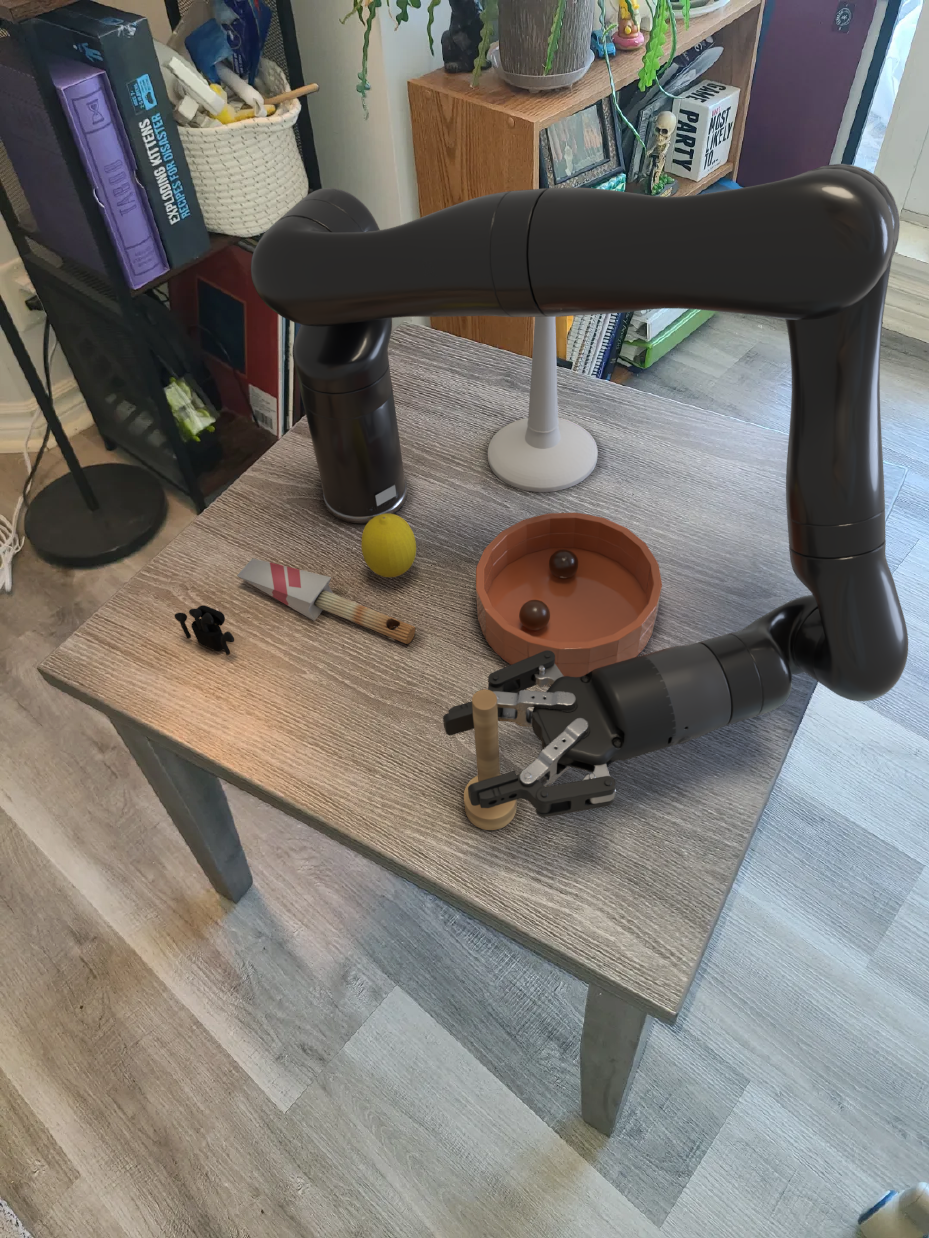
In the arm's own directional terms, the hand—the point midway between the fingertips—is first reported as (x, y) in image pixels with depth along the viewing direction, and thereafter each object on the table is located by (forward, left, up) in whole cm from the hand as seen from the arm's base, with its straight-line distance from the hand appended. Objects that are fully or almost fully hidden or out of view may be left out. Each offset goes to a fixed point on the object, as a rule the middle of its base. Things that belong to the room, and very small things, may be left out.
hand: (457, 759), depth 69 cm
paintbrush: (-27, +2, -9) cm, 29 cm away
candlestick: (-32, +34, -9) cm, 48 cm away
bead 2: (-16, +24, -7) cm, 29 cm away
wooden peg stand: (+1, +2, -9) cm, 9 cm away
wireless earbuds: (-30, -9, -9) cm, 33 cm away
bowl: (-12, +21, -9) cm, 26 cm away
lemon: (-27, +10, -9) cm, 31 cm away
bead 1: (-12, +17, -7) cm, 22 cm away
